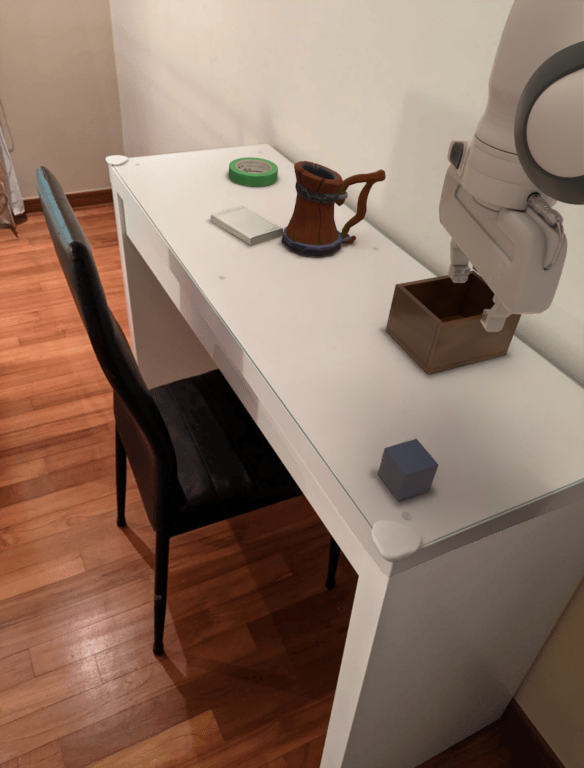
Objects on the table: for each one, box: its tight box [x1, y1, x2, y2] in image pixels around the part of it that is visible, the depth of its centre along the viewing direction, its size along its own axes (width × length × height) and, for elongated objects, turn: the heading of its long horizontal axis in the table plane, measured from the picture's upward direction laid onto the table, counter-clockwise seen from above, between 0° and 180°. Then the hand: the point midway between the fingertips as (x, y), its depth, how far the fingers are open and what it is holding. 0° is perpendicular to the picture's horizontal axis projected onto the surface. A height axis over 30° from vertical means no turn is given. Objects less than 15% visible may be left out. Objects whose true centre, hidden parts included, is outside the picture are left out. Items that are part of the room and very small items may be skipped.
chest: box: [385, 270, 523, 375], centre depth 92 cm, size 15×12×8 cm
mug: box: [281, 160, 387, 258], centre depth 112 cm, size 18×12×15 cm, turn 101°
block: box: [377, 438, 439, 502], centre depth 70 cm, size 4×4×4 cm
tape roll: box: [228, 156, 279, 188], centre depth 138 cm, size 11×11×3 cm
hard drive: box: [209, 205, 284, 246], centre depth 118 cm, size 2×8×12 cm
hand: (472, 302), depth 65 cm, fingers open, 8 cm apart
